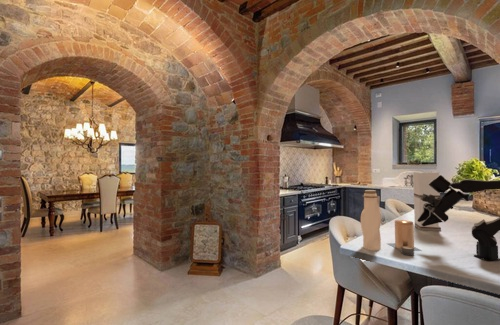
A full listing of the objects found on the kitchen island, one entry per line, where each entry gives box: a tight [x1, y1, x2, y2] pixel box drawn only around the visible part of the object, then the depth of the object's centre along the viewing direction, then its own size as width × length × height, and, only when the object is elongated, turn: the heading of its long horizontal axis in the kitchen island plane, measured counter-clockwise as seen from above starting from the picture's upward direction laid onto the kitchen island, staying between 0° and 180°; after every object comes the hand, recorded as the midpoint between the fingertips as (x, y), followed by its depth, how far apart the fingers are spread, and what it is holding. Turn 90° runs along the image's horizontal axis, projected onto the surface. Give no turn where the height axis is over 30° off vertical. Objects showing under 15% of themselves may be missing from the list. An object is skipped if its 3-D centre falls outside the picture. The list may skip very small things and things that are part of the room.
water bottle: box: [360, 189, 382, 251], centre depth 126 cm, size 10×9×28 cm
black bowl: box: [400, 246, 415, 256], centre depth 115 cm, size 5×5×3 cm
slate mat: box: [387, 242, 423, 252], centre depth 125 cm, size 12×10×1 cm
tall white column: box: [412, 171, 442, 232], centre depth 161 cm, size 11×11×35 cm
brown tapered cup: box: [394, 219, 415, 250], centre depth 124 cm, size 8×8×13 cm
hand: (420, 223), depth 121 cm, fingers open, 9 cm apart
